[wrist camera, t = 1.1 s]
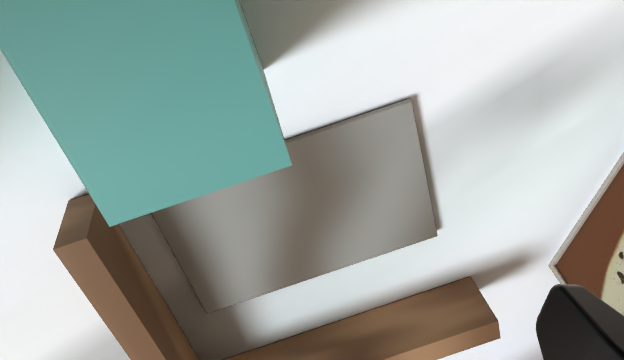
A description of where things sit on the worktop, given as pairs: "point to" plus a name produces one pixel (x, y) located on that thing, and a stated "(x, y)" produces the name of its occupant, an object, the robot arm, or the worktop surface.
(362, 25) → the worktop surface
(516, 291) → the worktop surface
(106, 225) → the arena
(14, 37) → the teal block
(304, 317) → the worktop surface
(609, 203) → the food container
